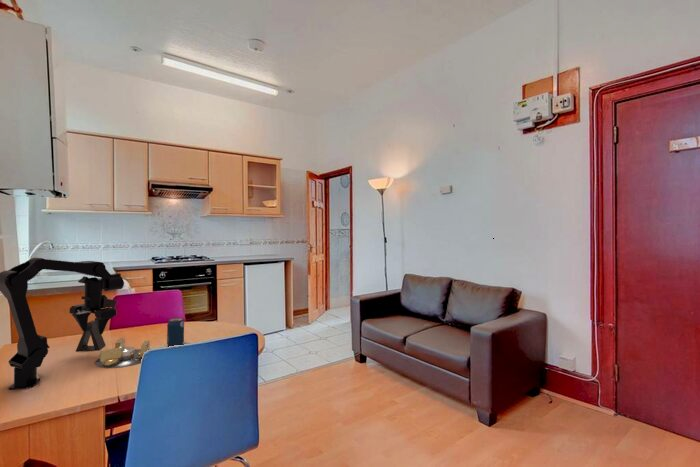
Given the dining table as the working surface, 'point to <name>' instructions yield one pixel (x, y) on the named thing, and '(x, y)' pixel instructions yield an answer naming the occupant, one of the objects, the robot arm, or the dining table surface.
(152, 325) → the dining table surface
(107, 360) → the wing knob
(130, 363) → the levelling base
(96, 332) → the phone stand
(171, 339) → the soda can
